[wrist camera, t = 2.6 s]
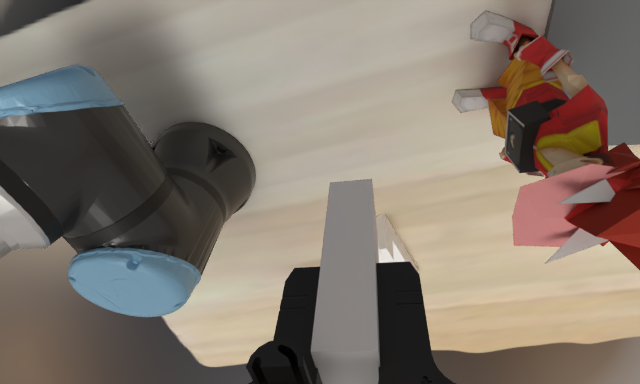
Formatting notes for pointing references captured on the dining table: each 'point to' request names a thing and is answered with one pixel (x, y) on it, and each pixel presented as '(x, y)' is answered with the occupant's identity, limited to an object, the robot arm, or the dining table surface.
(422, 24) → the dining table surface
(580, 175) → the toy
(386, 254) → the bracket
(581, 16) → the mat
